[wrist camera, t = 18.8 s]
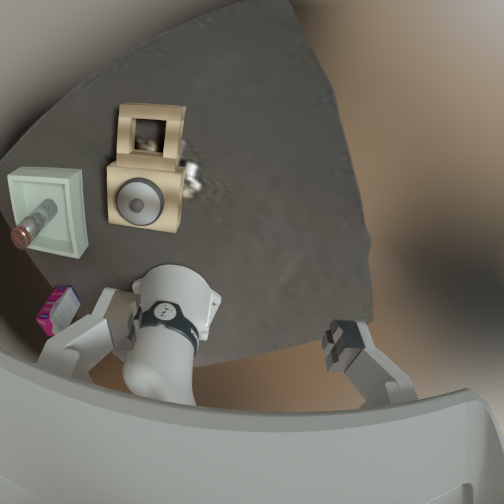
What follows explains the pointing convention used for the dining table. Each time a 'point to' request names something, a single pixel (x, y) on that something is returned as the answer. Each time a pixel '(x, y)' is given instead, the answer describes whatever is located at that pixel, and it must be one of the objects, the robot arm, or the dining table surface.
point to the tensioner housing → (147, 172)
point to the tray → (66, 198)
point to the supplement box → (58, 310)
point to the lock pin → (33, 223)
